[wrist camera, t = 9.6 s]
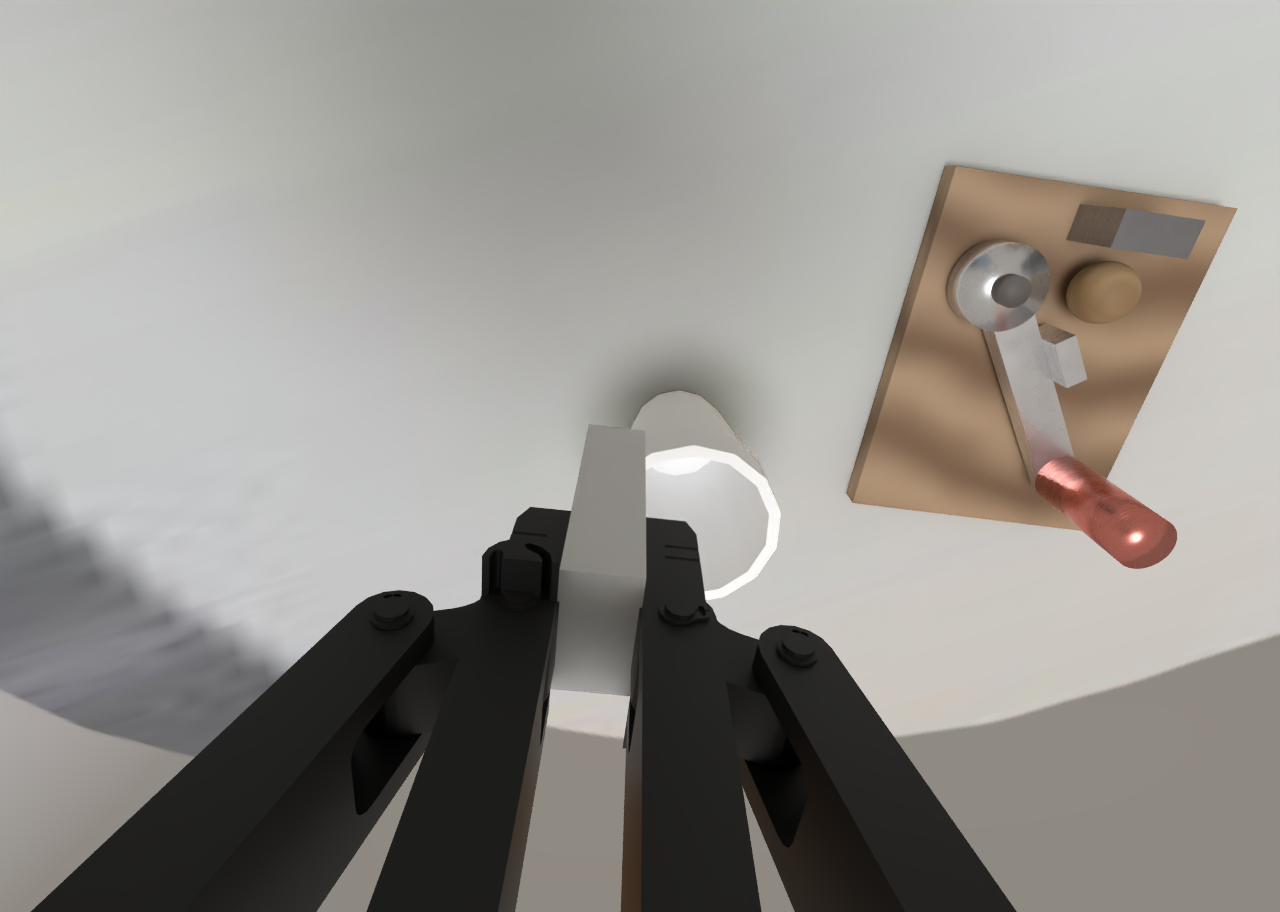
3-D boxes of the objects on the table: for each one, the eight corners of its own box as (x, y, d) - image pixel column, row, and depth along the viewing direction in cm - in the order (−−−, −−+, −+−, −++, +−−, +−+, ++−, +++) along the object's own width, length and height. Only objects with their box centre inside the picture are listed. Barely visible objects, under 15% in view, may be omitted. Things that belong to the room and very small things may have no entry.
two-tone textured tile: (1079, 204, 38) (1126, 208, 34) (1151, 214, 38) (1205, 220, 34) (1065, 239, 38) (1110, 248, 35) (1136, 250, 39) (1187, 259, 35)
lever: (936, 265, 39) (1024, 296, 30) (1019, 224, 38) (1136, 243, 29) (1014, 500, 45) (1105, 583, 36) (1086, 470, 44) (1198, 548, 35)
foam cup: (649, 344, 43) (651, 414, 31) (769, 404, 44) (815, 492, 32) (589, 461, 46) (570, 563, 34) (702, 511, 48) (721, 626, 36)
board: (944, 165, 38) (984, 166, 34) (1216, 207, 39) (1289, 212, 35) (846, 493, 47) (867, 526, 43) (1068, 520, 48) (1111, 556, 44)
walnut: (1067, 252, 39) (1107, 261, 35) (1124, 261, 39) (1169, 270, 36) (1044, 312, 40) (1079, 325, 37) (1099, 320, 40) (1139, 334, 37)
